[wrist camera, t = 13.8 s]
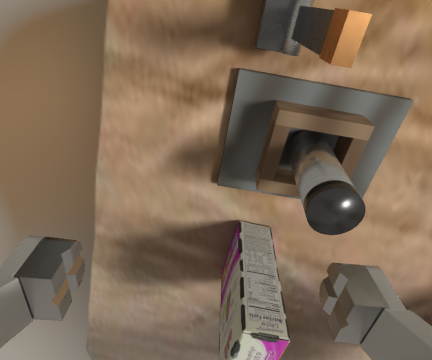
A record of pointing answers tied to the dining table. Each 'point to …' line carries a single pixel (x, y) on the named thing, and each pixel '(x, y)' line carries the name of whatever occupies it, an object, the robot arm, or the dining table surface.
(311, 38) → the bar
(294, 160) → the steel pin
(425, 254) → the dining table surface
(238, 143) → the hitch block
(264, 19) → the retainer base
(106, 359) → the dining table surface
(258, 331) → the candy bar box
